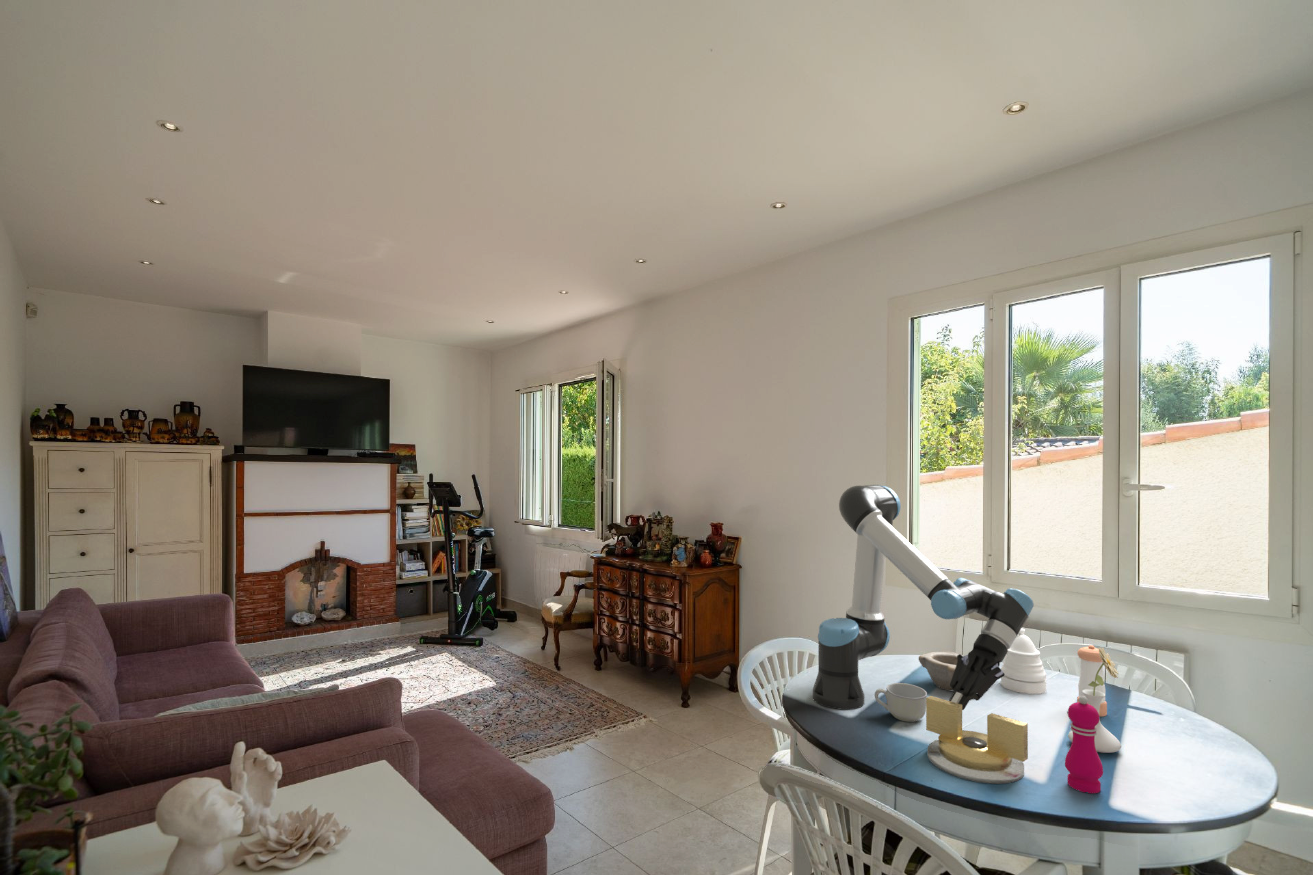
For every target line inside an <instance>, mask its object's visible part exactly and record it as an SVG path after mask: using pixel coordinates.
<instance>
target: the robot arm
mask: <svg viewBox="0 0 1313 875" xmlns="http://www.w3.org/2000/svg"><path fill="white" fill-rule="evenodd" d="M838 509H839V512H840V516H841V517H842V519H843V520H844V521H845V523H846V524H847V525H848V526H849V528H851V529H852V530H853V531H854V532H855V533H856V535H857V538H856V549H855V550H856V551H855V562H854V574H853V576H854V577H853V584H852V585H853V586H852V588H853V589H852V599H851V600H852V601H851V606H850V607H849V608H847V609H846V613H845V617H836V618H834V617H833V618H828V619H825V620H824V621H822V622H821V623H820V624H819V626H818V633H817V639H818V651H817V652H818V658H817V659H818V660H817V661H818V669H817V670H818V671H817V676H816V679H815V682H814V684H813V688H812V691H811V694H812V695H811V696H812V697H811V698H812V700H813V699H814V700H813V701H814V702H815V701H816V702H815V703H817V704H818V705H821V706H824V707H827V708H831V709H838V708H841V709H840V710H851V709H850V708H854V709H858V708H861V707H862V706H863V704H864V705H865V693H864V689H863V686H862V684H861V681H860V678H859V661H861V660H864V659H867V658H869V657H875V656H877V655H879V654H880V653H882V652H883V651H884V650H885V649H887V647H888V645H889V643H890V639H891V635H890V634H891V633H890V629H889V627H888V626H887V622H885V619H886V617H885V615H884V613H883V612H882V610H881V605H882V594H883V593H882V591H883V590H882V589H883V579H884V570H885V569H884V568H885V558H887V560H889V561H890V563H892V564H893V565H894V566H895V567H896V569H898V570H899V571H900V572H901V573H902V574H903V575H904V576H905V577H906V578H907V579H908V580H909V581H910V582H911V583H912V584H913V585H914V586H915V587H916V588H918V590H920V592H921V593H922V594H924V595H925V596H926V597H927V598H928V599H929V600H930V607H931V609H932V611H933V612H934V614H935V615H936V616H938V617H939V618H941V619H942V620H956V619H959V618H962V617H963V616H968V615H970V614H973V613H975V614H978V615H981V616H984V617H985V618H988V619H987V622H985V624H984V626H983V627H982V629H981V631H980V634H978V636H977V638H976V640H975V641H974V643H973V648H972V650H971V651H969V652H968V653H967V654H966V655H964V656H962V655H963V654H959V653H958V654H959V655H958V656H957V665H956V668H955V671H954V674H953V677H952V680H951V683H950V687H951V688H952V689H953V690H954V691H953V693H952V695H951V696H950V698H949V699H948V701H951V702H954V703H958V704H961V705H962V711H964V710H965V708H966V707H967V706H968V704H969V702H970V701H973V700H974V701H980V700H981V699H982V697H983V696H984V695H985V694H986V693H987V692H988V691H989V690H990V689H991V688H992V686H993V685H994V684H995V683H996V682H997V681H998V680H999V679H1000V680H1001V677H1003V676H1004V675H1005V674H1004V673H1003V671H1002V670H1001V668H1000V664H1001V662H1002V663H1003V662H1004V660H1005V657H1006V655H1007V653H1008V650H1007V649H1009V648H1010V647H1011V645H1012V643H1013V642H1014V640H1015V639H1016V637H1018V636H1019V634H1018V633H1019V631H1020V630H1021V629H1023V627H1024V625H1025V623H1026V622H1027V620H1028V619H1029V618H1030V617H1029V616H1030V614H1031V612H1032V610H1033V608H1034V602H1033V599H1032V598H1031V596H1030V595H1028V594H1027V593H1025V592H1023V591H1022V590H1020V589H1018V588H1012V587H1010V588H1007V589H1006V590H1005V591H1004V592H1003V593H1002V592H1000V591H997V590H994V589H991V588H990V587H987V586H984V585H983V584H979V583H978V582H975V580H971V579H968V578H965V577H959V578H957V579H955V581H954V582H952V580H951V579H949V578H948V577H947V576H946V575H945V574H944V573H943V572H942V571H941V570H939V569H938V567H936V566H935V565H934V564H933V563H932V561H930V559H928V558H927V557H926V556H925V555H924V554H922V553H921V552H920V551H919V550H918V549H917V548H916V547H915V546H914V545H913V544H911V542H909V540H907V539H906V538H905V537H904V536H903V535H902V534H901V533H900V532H899V531H898V530H897V529H895V527H893V521H894V520H895V519H897V517H898V516H899V514H900V513H901V512H900V511H901V500H900V498H899V496H898V494H897V493H896V492H895V491H894V490H893V489H892V488H890V487H889V486H886V485H881V484H880V485H879V484H869V485H868V484H867V485H866V484H864V485H854V486H850V487H848V488H847V489H845V490H844V492H843V493H842V494H841V496H840V499H839V502H838ZM968 662H969V663H968ZM966 665H967V666H966ZM860 706H861V707H860Z"/></svg>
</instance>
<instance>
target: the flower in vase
mask: <svg viewBox="0 0 1313 875" xmlns="http://www.w3.org/2000/svg"><path fill="white" fill-rule="evenodd" d="M1097 649H1098V650H1099V655H1100V658H1101V660H1102V662H1103V663H1102V665H1101V666H1100V668H1099V669H1098V671H1097V673H1096V677H1095V682H1094V681H1092V682H1091V683H1090V684H1088V685H1089V686H1092V687H1094V690H1083V691H1082V692H1083V693H1084V695H1085V696H1086V698H1087V699H1088V704H1090V705H1091V706H1093V707H1094V708H1095V709H1096V710H1097V711H1098V713H1099V709H1100V704H1101V701H1102V699H1103V698H1104V697H1105V698H1106V693H1105V694H1104V693H1102V692H1100V691H1096V690H1095V687H1096V686H1099V685H1101V686H1102V685H1103V684H1104V685H1105V680H1104V681H1103V679H1104V678H1103V679H1102V677H1101V676H1099V675H1098V673H1099V671H1100V669H1101V668H1102V666H1103V667H1104V668H1105V669H1106V670H1107V672H1108V673H1109V675H1110V676H1111V677H1113V678H1114V679H1118V678H1119V676H1118V675H1119V671H1117V669H1116V664H1115V662H1113V661H1112V659H1111V656H1110V654H1109V653H1108V652H1107V653H1106V651H1105V649H1104V647H1098V648H1097ZM1096 680H1097V682H1098V683H1099V684H1097V683H1096ZM1095 727H1096V728H1097V730H1096V732H1097V735H1095V739H1094V741H1095V748H1096V751H1097V753H1102V754H1103V753H1104V754H1105V753H1106V754H1107V753H1108V754H1109V753H1111V754H1112V753H1115V752H1119V751H1120V750H1121V749H1122V745H1121V742H1120V740H1119V739H1118V738H1117V737H1116V736H1115V735H1114V734H1112V733H1111V731H1109V730H1108V729H1107V728H1106V727H1104V725H1103V724H1102V723H1101V720H1100V718H1099V723H1098V724H1097V725H1096V726H1095ZM1067 738H1068V739H1069V741H1070V742H1071V743H1072V741H1073V731H1072V730H1071V729H1070V731H1069V733H1068V734H1067Z"/></svg>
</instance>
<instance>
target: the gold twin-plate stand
mask: <svg viewBox="0 0 1313 875" xmlns="http://www.w3.org/2000/svg"><path fill="white" fill-rule="evenodd" d="M986 717H987V719H986V720H987V723H986V724H987V725H986V726H987V727H986V731H987V732H986V733H984V732H979V731H978V732H977V731H973V730H965V729H964V730H963V710H962V705H961V704H958V703H954V702H951V701H949V700H948V699H943V698H940V697H936V696H932V695H929V696H928V697H927V696H926V711H925V721H926V724H925V725H926V726H925V727H926V731H929V732H931V733H935V734H938V740H939V751H940V753H941V754H942V755H943V756H945V757H946V758H948V759H949V760H951V761H954V762H956V763H958V764H961V765H965V766H968V767H973V768H978V769H988V770H996V769H1003V768H1007V767H1009V766H1010V765H1011V764H1012V758H1014V759H1017V760H1020V761H1023V763H1024V762H1025V761H1027V760H1028V759H1029V756H1028V755H1029V754H1028V753H1029V752H1028V750H1029V748H1028V747H1029V746H1028V745H1029V740H1028V739H1029V736H1028V734H1029V733H1028V731H1029V726H1028V725H1029V724H1028V723H1027V722H1024V721H1020V720H1017V719H1014V718H1010V717H1006V716H1003V715H1000V714H996V713H992V712H991V713H989V714H987V716H986Z"/></svg>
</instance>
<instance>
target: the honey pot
mask: <svg viewBox="0 0 1313 875" xmlns="http://www.w3.org/2000/svg"><path fill="white" fill-rule="evenodd" d="M1025 633H1026V629H1025V628H1021V630H1020V631H1019V633H1018V635H1017V637H1016V638H1015V640H1014V642H1013V643H1012V645H1011V647H1010V648H1009V649H1007V650H1008V652H1007V654H1006V656H1005V657H1004V659H1003V661H1002V663H1003V664H1002V665H1001V668H1000V669H1001V670H1002V671H1003V673H1004V674H1005V675H1004V676H1003V677H1001V678H1000V684H1001V686H1002V687H1003V688H1005V689H1007V690H1010V691H1013V692H1018V693H1021V694H1030V695H1032V694H1033V695H1038V694H1039V695H1040V694H1045V693H1046V692H1047V672H1046V671H1045V668H1044V667H1045V666H1043V665H1044V664H1043V661H1042V660H1041V656H1040V655H1041V652H1040V650H1038V649H1037V648H1036V646H1035V644H1034V642H1033V641H1032V640H1031V638H1030V637H1029V636H1028V635H1025Z"/></svg>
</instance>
